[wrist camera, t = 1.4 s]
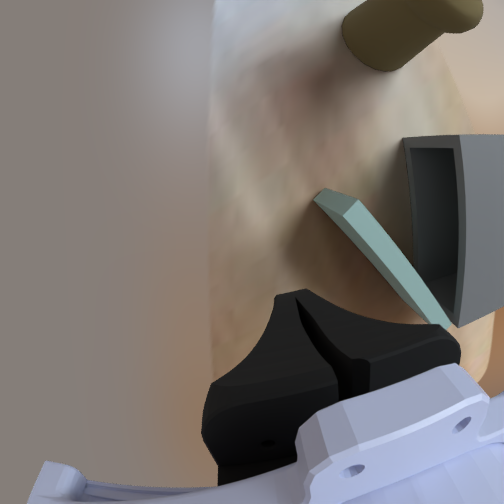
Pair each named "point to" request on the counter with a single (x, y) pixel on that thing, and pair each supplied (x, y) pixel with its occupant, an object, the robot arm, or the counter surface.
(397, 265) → the sage green bent plank
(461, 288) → the cupboard
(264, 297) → the counter surface
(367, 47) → the cork
